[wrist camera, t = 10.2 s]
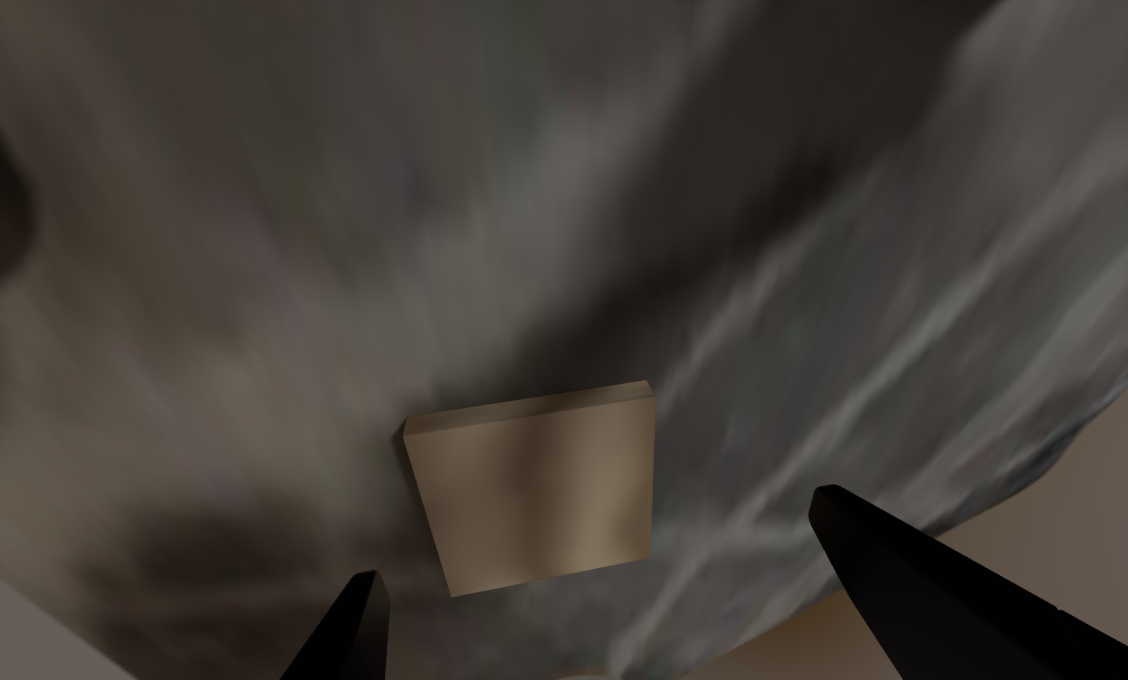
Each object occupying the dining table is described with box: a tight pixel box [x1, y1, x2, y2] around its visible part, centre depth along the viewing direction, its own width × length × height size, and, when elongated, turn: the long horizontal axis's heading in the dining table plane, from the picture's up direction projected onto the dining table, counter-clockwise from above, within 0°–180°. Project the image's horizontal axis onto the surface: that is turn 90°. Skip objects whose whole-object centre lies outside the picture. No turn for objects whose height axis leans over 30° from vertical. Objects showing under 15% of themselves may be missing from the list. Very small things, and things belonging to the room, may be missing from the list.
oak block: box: [403, 380, 656, 597], centre depth 25 cm, size 12×12×2 cm
